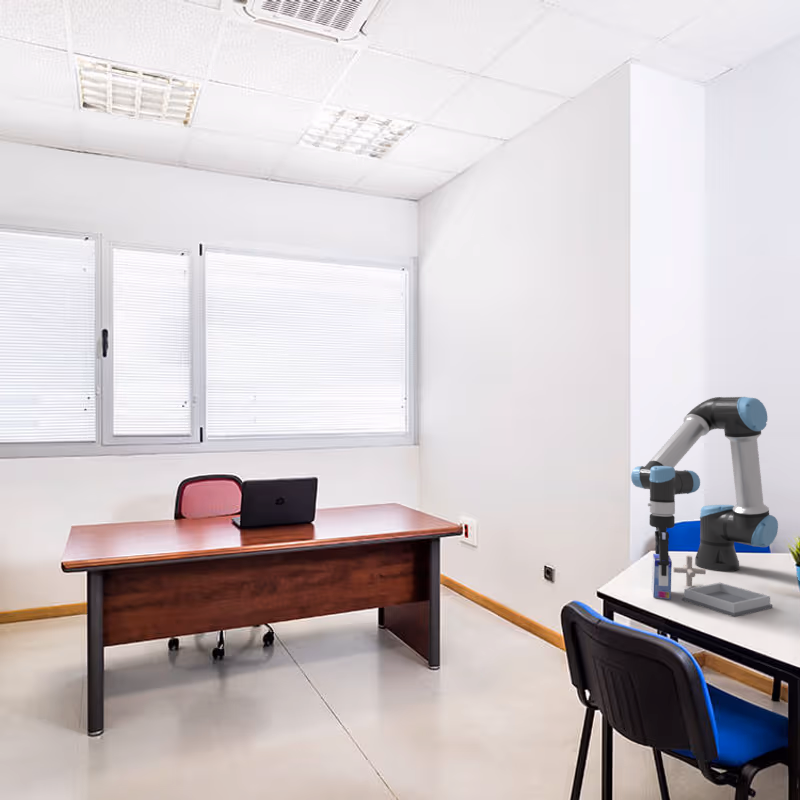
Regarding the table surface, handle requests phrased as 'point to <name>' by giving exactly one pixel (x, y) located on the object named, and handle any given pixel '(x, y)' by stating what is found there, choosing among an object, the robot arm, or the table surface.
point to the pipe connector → (689, 570)
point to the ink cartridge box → (658, 590)
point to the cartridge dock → (727, 599)
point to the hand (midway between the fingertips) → (661, 580)
